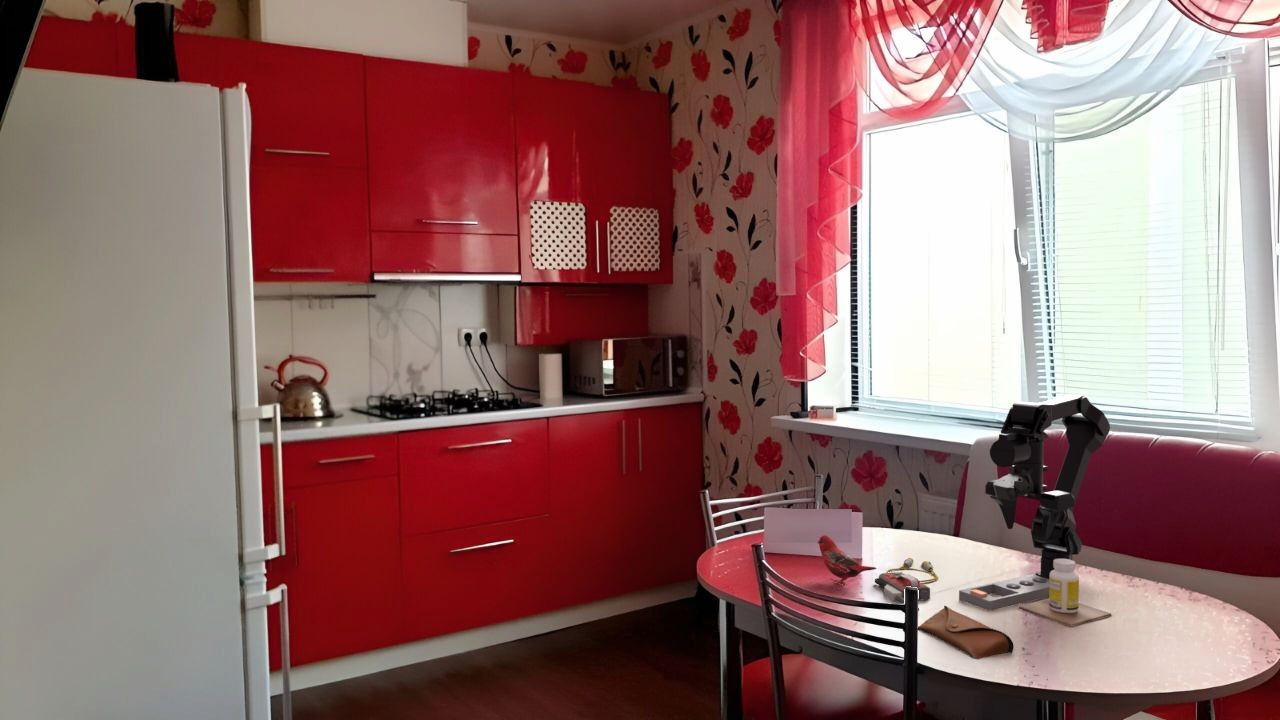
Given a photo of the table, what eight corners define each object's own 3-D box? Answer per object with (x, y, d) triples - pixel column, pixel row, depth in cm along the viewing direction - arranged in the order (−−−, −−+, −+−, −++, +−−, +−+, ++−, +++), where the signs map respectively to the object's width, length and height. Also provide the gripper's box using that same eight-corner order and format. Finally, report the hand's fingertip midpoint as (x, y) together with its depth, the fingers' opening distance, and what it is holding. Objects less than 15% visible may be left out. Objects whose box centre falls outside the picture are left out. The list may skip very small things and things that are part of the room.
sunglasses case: (910, 626, 183) (925, 595, 184) (935, 640, 186) (950, 608, 187) (977, 660, 167) (993, 625, 168) (1004, 674, 169) (1019, 639, 170)
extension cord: (957, 575, 217) (957, 566, 217) (918, 590, 207) (918, 581, 207) (910, 563, 226) (910, 555, 226) (871, 578, 216) (871, 569, 216)
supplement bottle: (1078, 607, 192) (1079, 559, 191) (1078, 615, 187) (1079, 566, 186) (1049, 603, 194) (1050, 556, 193) (1048, 611, 189) (1049, 563, 188)
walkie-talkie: (865, 587, 210) (912, 617, 190) (865, 567, 209) (912, 595, 190) (901, 583, 212) (952, 612, 192) (901, 563, 211) (952, 591, 192)
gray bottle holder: (1031, 582, 209) (1031, 571, 209) (1063, 593, 202) (1063, 580, 202) (958, 599, 199) (959, 587, 198) (989, 611, 192) (989, 598, 191)
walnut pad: (1058, 598, 198) (1058, 596, 198) (1111, 615, 188) (1111, 613, 188) (1018, 608, 193) (1018, 606, 193) (1070, 626, 182) (1070, 624, 182)
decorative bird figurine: (821, 575, 217) (821, 532, 216) (881, 595, 202) (881, 549, 201) (812, 577, 215) (812, 534, 215) (871, 598, 201) (871, 551, 200)
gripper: (967, 458, 208) (966, 529, 209) (1039, 472, 191) (1038, 549, 192) (1003, 453, 213) (1002, 522, 214) (1076, 466, 196) (1075, 541, 198)
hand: (1027, 533), depth 204 cm, fingers open, 9 cm apart
